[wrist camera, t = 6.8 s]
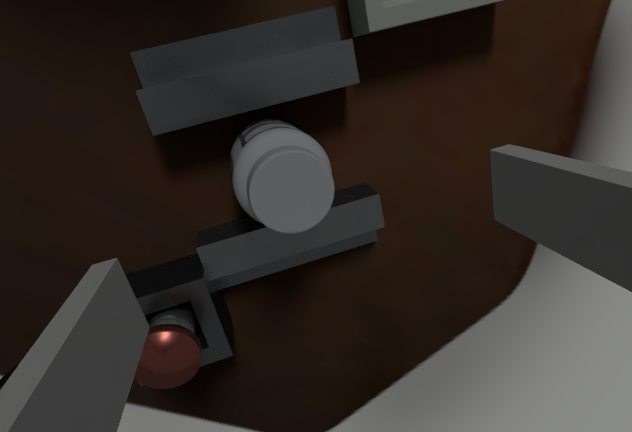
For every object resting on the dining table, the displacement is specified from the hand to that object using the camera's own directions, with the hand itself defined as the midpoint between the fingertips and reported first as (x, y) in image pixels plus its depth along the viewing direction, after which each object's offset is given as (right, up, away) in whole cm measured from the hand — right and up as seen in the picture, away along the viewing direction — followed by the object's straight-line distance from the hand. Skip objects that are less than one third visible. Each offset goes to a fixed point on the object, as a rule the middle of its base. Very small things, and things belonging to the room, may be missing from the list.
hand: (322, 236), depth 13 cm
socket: (-3, +5, +12) cm, 14 cm away
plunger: (-10, -5, +14) cm, 18 cm away
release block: (-10, -5, +14) cm, 18 cm away
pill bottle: (-3, +5, +13) cm, 14 cm away
